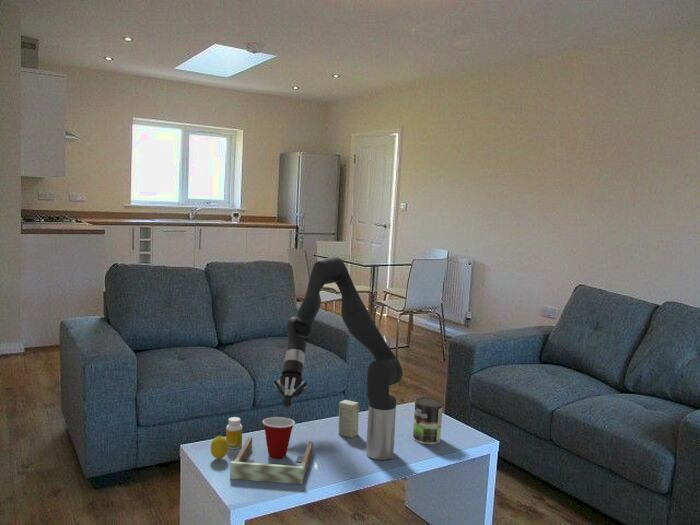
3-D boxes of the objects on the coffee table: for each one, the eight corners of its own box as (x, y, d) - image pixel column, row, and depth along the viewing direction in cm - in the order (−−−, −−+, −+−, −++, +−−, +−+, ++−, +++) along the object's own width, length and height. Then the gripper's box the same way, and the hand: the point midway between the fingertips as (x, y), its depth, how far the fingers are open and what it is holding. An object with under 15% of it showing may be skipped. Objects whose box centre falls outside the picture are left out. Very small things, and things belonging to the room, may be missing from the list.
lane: (312, 451, 206) (312, 437, 205) (301, 484, 182) (302, 468, 181) (248, 446, 207) (248, 432, 206) (229, 478, 183) (230, 462, 182)
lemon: (212, 464, 192) (213, 440, 191) (208, 457, 197) (209, 433, 196) (229, 461, 195) (230, 437, 194) (225, 454, 200) (225, 431, 199)
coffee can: (426, 446, 214) (428, 408, 213) (406, 437, 223) (409, 400, 221) (446, 441, 221) (449, 403, 219) (427, 431, 229) (429, 395, 227)
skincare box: (358, 434, 222) (360, 402, 221) (352, 438, 219) (353, 405, 218) (343, 430, 226) (345, 398, 225) (337, 434, 222) (338, 401, 221)
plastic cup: (298, 451, 205) (299, 417, 204) (287, 464, 195) (289, 428, 194) (267, 446, 208) (269, 413, 207) (256, 459, 197) (257, 424, 196)
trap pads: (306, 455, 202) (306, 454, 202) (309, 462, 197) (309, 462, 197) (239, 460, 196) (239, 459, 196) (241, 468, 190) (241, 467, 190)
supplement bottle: (238, 450, 204) (239, 422, 203) (223, 448, 205) (224, 420, 204) (244, 444, 209) (244, 417, 208) (229, 442, 210) (230, 415, 209)
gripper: (275, 357, 224) (267, 400, 213) (310, 360, 223) (304, 403, 212) (277, 367, 230) (269, 409, 219) (311, 370, 229) (305, 412, 218)
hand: (286, 406), depth 216 cm, fingers closed
